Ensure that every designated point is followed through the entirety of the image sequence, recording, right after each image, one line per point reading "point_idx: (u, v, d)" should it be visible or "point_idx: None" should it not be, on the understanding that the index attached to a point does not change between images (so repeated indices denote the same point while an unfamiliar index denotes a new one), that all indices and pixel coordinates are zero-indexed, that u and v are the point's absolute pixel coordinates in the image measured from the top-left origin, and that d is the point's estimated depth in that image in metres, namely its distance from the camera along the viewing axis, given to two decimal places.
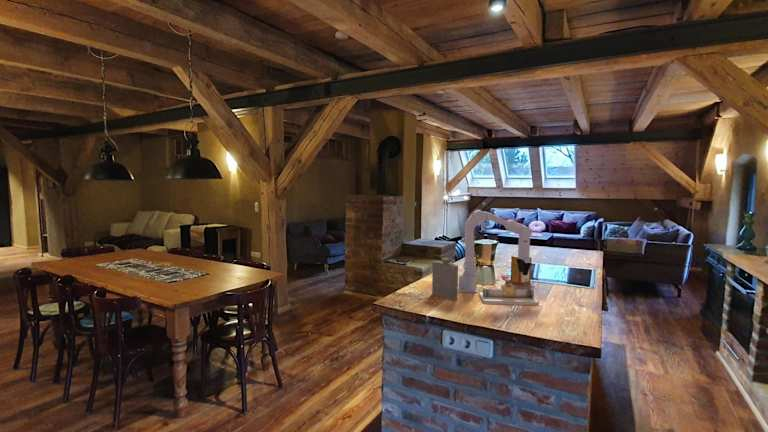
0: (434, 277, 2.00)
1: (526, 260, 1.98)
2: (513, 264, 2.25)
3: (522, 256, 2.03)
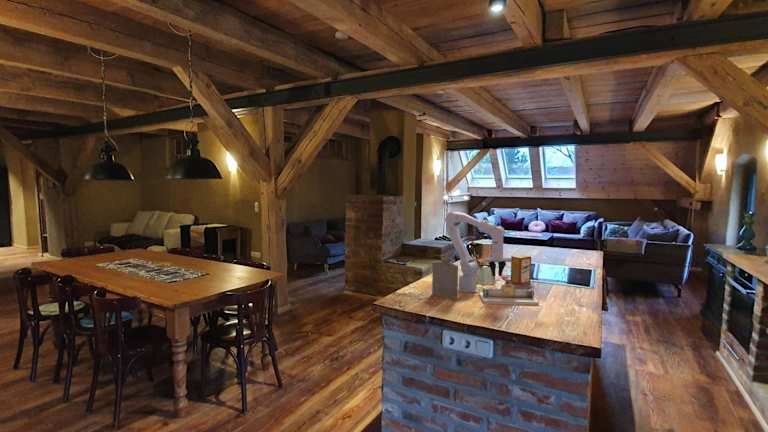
0: (434, 277, 2.00)
1: (483, 259, 1.99)
2: (513, 264, 2.25)
3: (491, 257, 2.00)
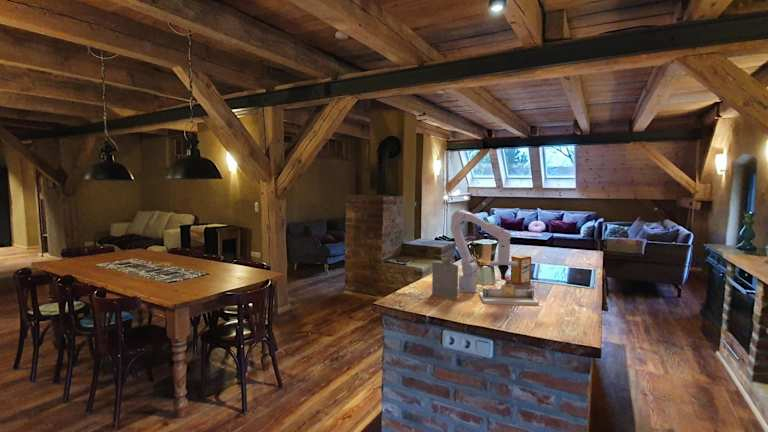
0: (434, 277, 2.00)
1: (489, 263, 1.99)
2: None
3: None
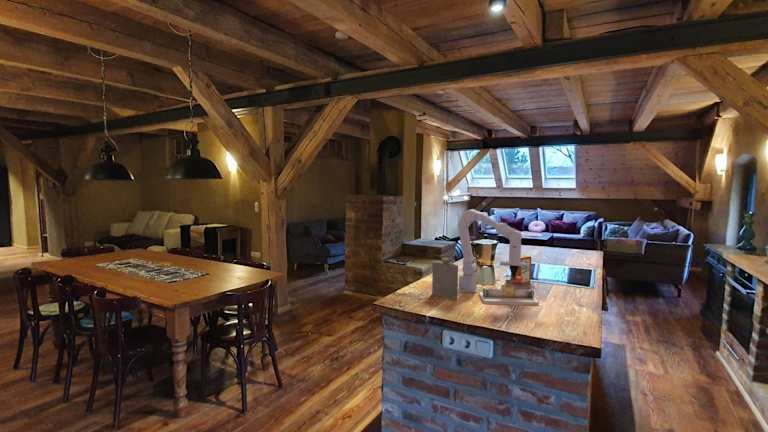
0: (434, 277, 2.00)
1: None
2: None
3: None
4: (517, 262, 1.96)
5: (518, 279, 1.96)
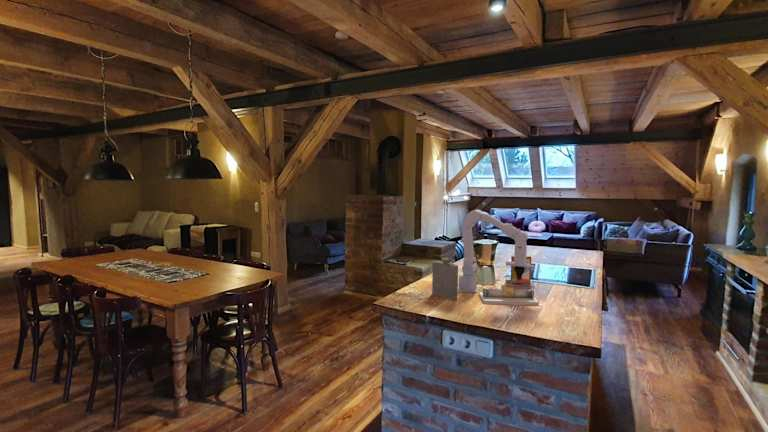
0: (434, 277, 2.00)
1: None
2: None
3: None
4: (521, 263, 1.94)
5: (521, 280, 1.93)
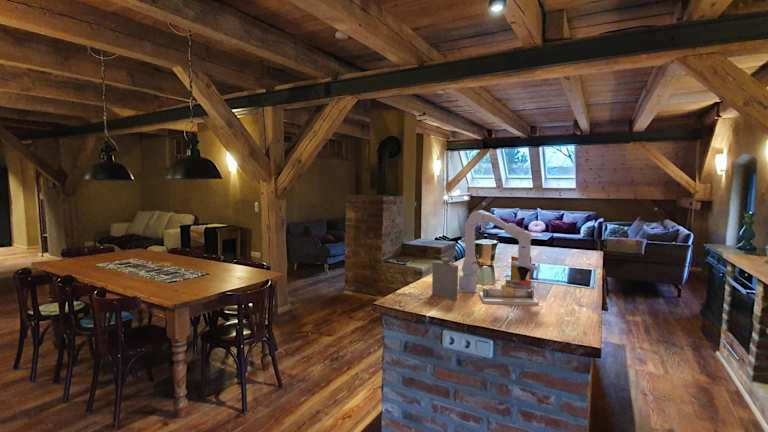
0: (434, 277, 2.00)
1: None
2: None
3: None
4: (523, 263, 1.91)
5: (523, 281, 1.91)
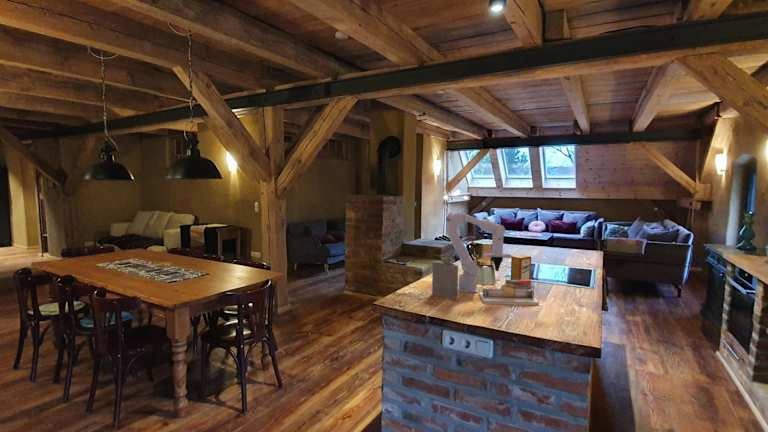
0: (434, 277, 2.00)
1: (483, 254, 2.12)
2: (513, 264, 2.25)
3: None
4: (501, 253, 2.08)
5: (523, 281, 1.91)
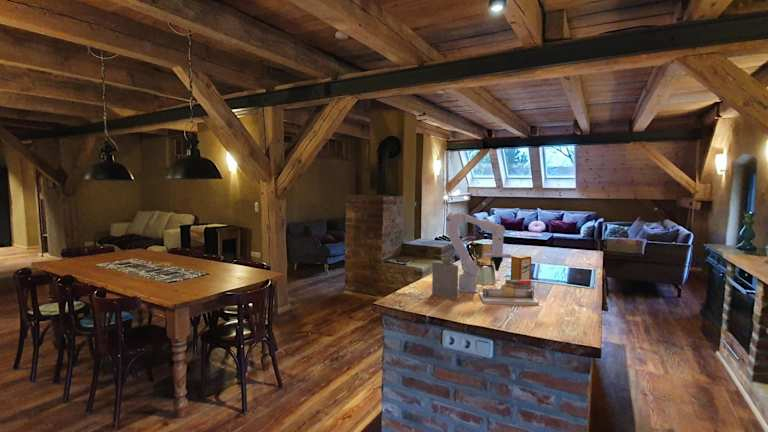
0: (434, 277, 2.00)
1: (483, 254, 2.12)
2: (513, 264, 2.25)
3: None
4: (501, 253, 2.08)
5: (523, 281, 1.91)
